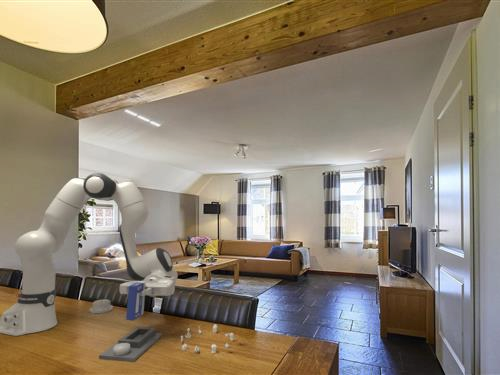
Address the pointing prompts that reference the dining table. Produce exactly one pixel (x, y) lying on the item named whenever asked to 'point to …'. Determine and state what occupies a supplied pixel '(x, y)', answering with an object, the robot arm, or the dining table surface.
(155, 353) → the dining table surface
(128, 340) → the housing
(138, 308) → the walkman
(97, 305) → the mechanical component
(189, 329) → the game piece set
